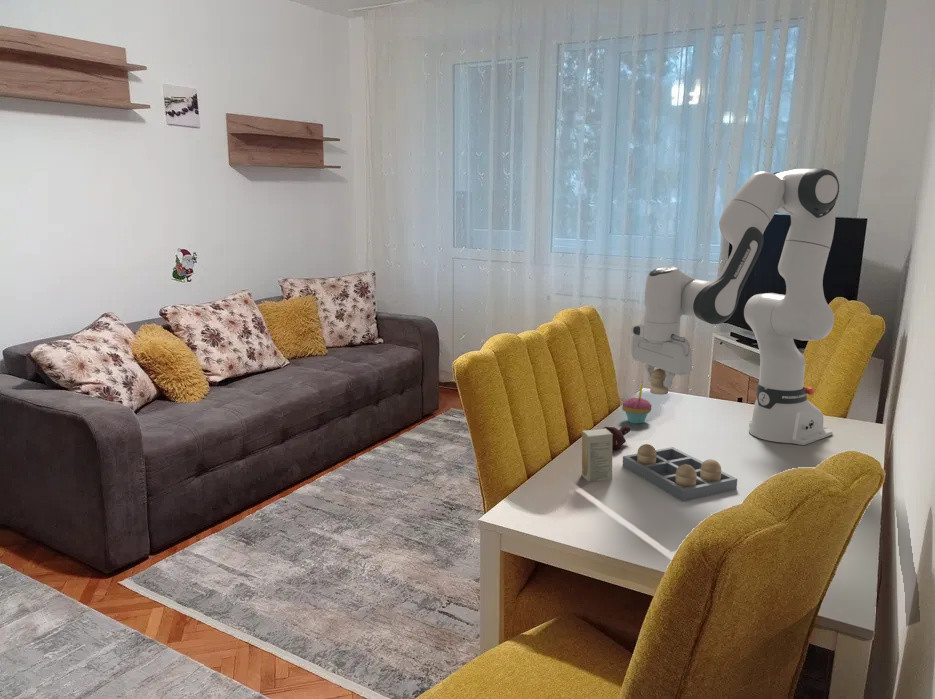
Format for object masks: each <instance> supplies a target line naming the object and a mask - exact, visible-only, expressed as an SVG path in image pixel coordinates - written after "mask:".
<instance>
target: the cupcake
mask: <svg viewBox="0 0 935 699" xmlns="http://www.w3.org/2000/svg"><path fill="white" fill-rule="evenodd" d="M642 392H643V381H642V380H641V383H640V386H639V394H638V397H634V396H633V397H631V398H629V399H626V400H625V401H623V403H622V407H621V408H622V411H624V412H625V415H626V417H627V420H628V422H630V423H631V424H636V423H640V424H644V423H645V422H644V421H646V418H647V416H648V414H649V413H651V410H652V404H651V402H650V401H649V400H647V399H645V398H643V397H642ZM643 422H644V423H643Z"/></svg>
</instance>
